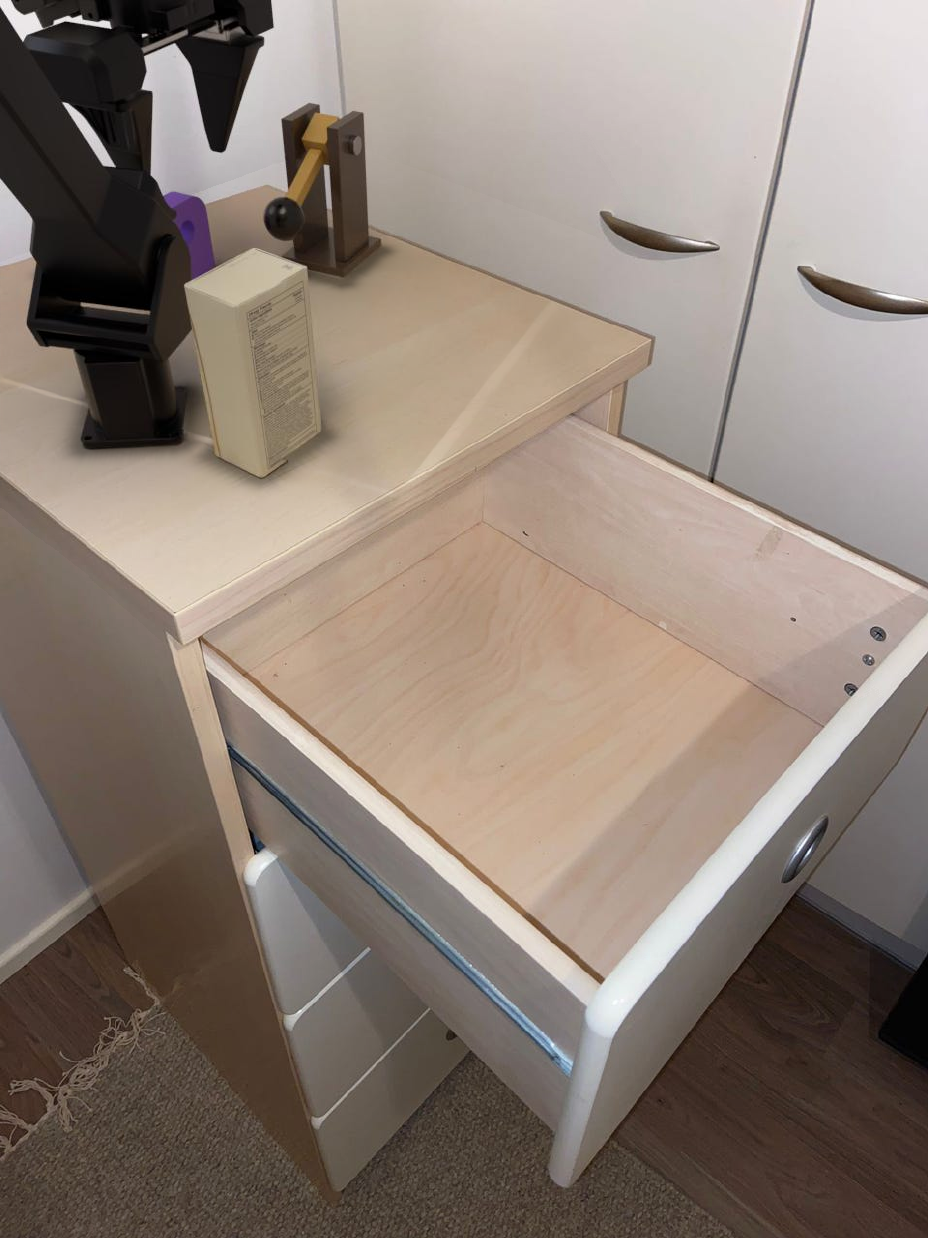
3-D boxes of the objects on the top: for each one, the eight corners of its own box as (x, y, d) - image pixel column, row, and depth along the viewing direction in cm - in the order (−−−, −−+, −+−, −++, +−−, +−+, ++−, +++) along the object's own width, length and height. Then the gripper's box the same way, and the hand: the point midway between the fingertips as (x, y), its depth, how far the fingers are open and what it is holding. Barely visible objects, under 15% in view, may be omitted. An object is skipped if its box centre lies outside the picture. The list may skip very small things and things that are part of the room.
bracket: (216, 272, 83) (203, 190, 78) (165, 305, 79) (148, 221, 74) (103, 242, 87) (84, 162, 82) (49, 273, 82) (25, 190, 77)
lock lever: (300, 253, 77) (286, 224, 74) (265, 245, 78) (250, 216, 75) (354, 144, 80) (343, 113, 77) (319, 138, 81) (307, 106, 78)
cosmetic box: (276, 415, 68) (255, 244, 59) (325, 437, 66) (311, 264, 58) (211, 458, 64) (178, 281, 56) (262, 482, 62) (236, 304, 54)
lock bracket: (344, 283, 82) (335, 135, 74) (282, 269, 84) (266, 122, 76) (381, 251, 87) (376, 108, 79) (322, 238, 89) (311, 96, 80)
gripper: (118, -139, 65) (163, 113, 76) (-99, -95, 52) (-8, 200, 63) (264, -123, 62) (288, 137, 73) (70, -72, 50) (135, 232, 61)
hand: (181, 172), depth 68 cm, fingers open, 9 cm apart
